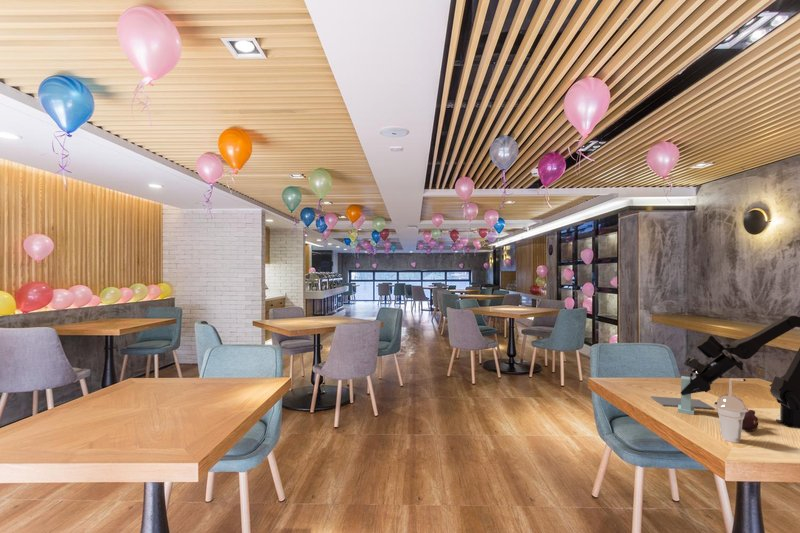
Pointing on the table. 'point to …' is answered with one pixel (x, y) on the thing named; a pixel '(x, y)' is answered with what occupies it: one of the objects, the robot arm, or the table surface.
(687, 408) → the number stand
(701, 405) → the mat
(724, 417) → the cup with straw
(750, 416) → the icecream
